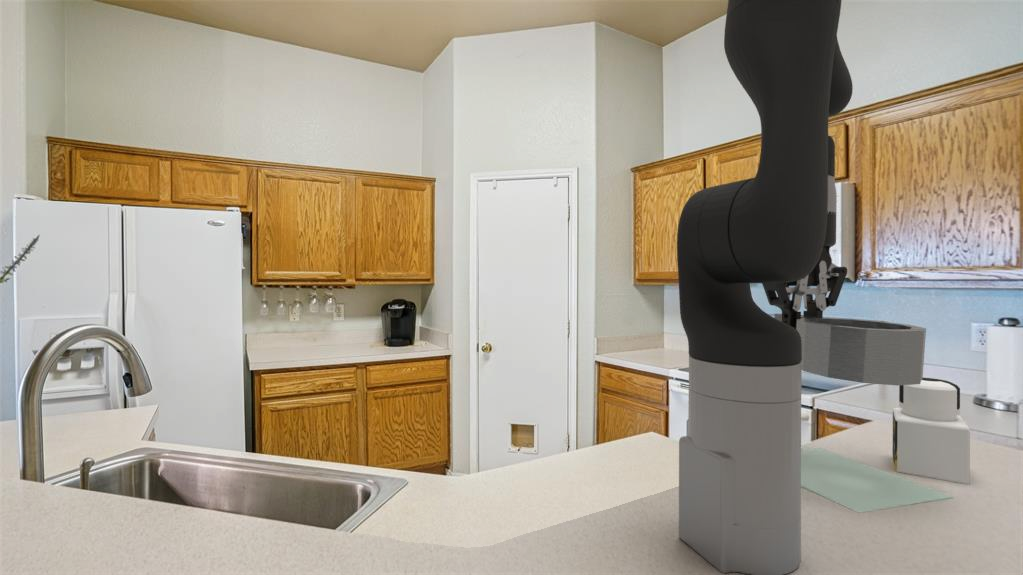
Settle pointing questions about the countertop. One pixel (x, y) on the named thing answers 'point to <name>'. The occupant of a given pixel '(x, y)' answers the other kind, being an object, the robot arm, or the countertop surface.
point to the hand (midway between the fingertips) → (802, 337)
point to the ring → (862, 350)
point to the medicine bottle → (931, 432)
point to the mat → (859, 483)
